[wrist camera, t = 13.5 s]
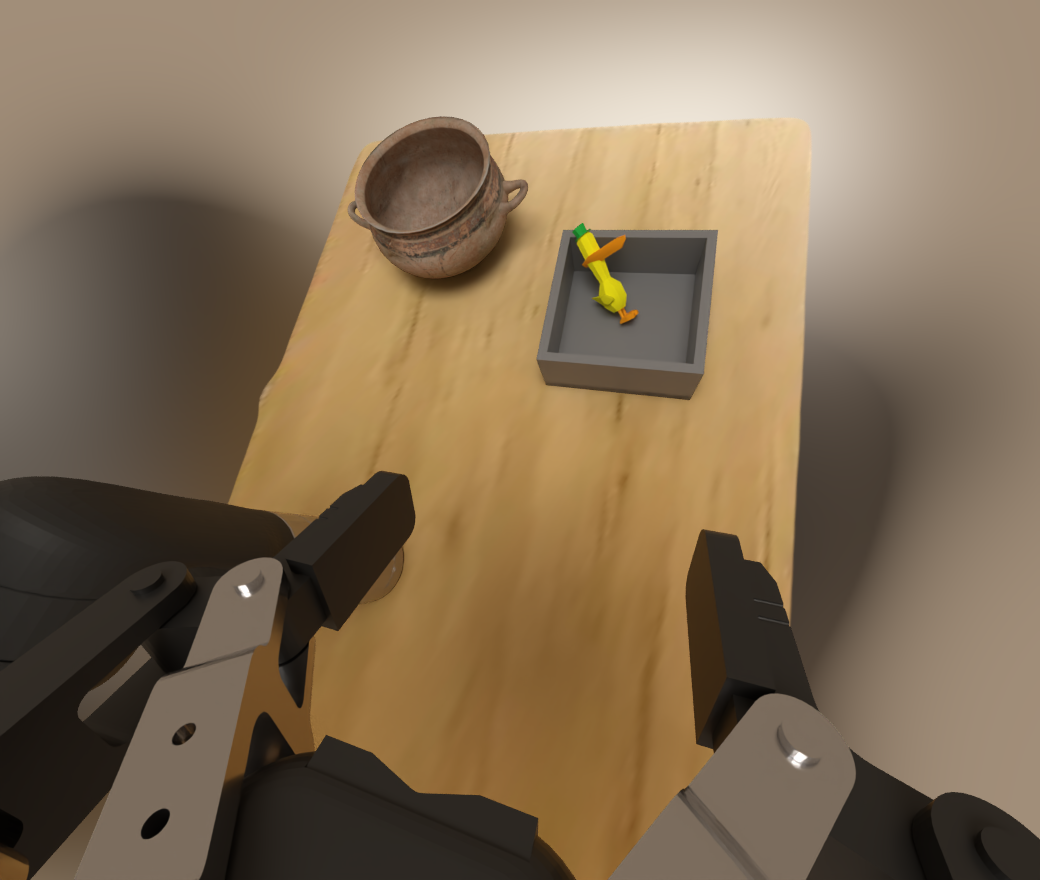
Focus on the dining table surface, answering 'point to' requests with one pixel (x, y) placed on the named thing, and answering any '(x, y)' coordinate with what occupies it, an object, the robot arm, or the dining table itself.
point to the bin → (651, 333)
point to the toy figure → (604, 271)
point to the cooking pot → (434, 197)
